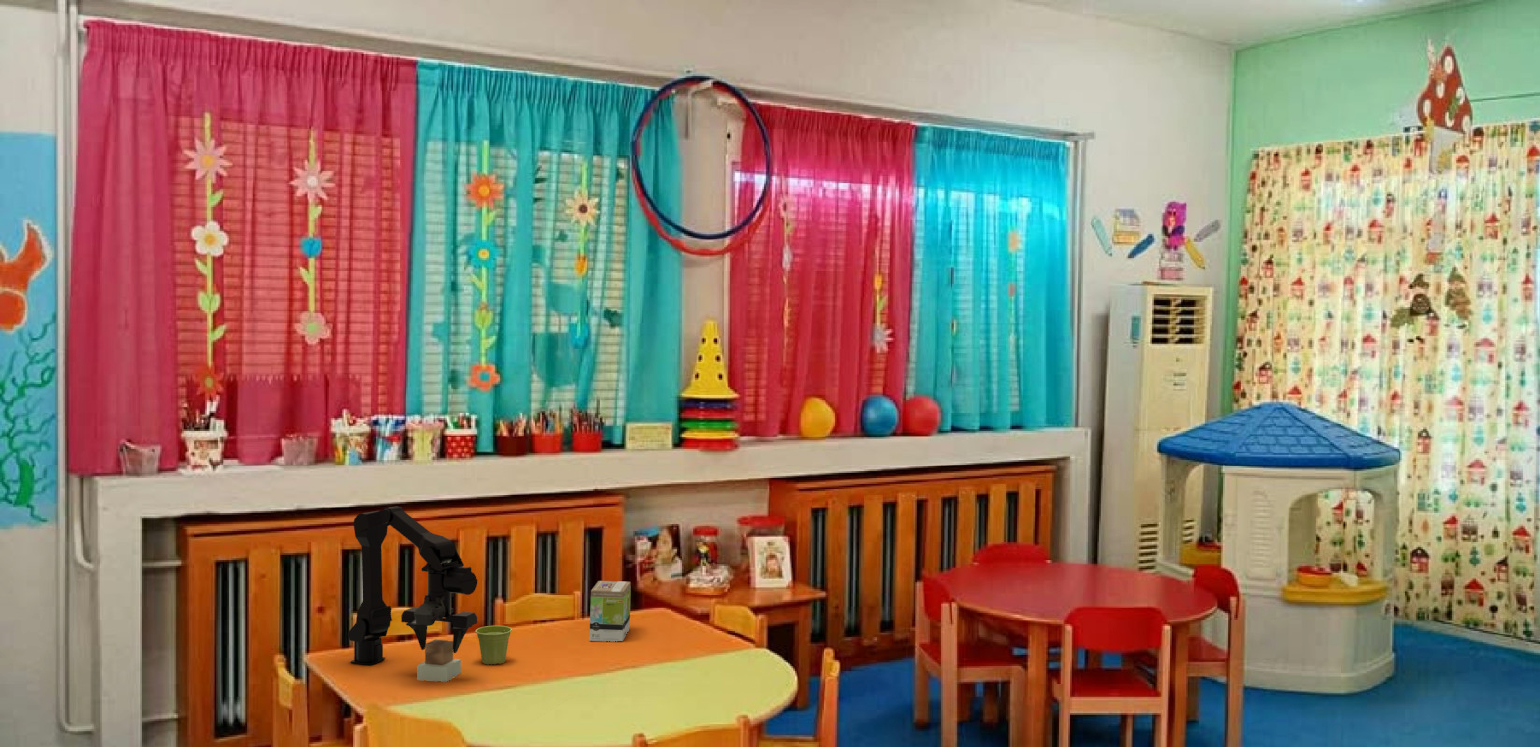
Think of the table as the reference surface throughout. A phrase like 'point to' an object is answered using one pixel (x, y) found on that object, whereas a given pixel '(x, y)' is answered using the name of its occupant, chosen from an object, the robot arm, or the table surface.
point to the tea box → (610, 611)
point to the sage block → (439, 671)
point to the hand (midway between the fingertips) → (439, 651)
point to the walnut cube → (439, 652)
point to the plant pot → (493, 643)
